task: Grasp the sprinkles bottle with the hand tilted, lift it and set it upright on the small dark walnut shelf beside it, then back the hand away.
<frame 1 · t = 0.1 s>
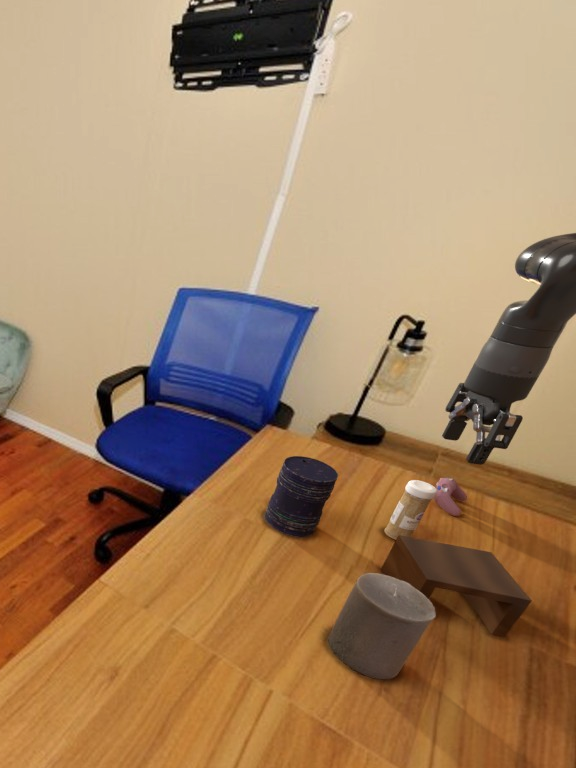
hand: (461, 450, 90), 28 cm above the table, tool pointing down, fingers open, 8 cm apart
navy ridged cylinder: (288, 523, 115), on the table
sprinkles bottle: (396, 536, 110), on the table
shelf: (437, 600, 95), on the table
pillar candle: (362, 654, 85), on the table
video game controller: (444, 504, 120), on the table
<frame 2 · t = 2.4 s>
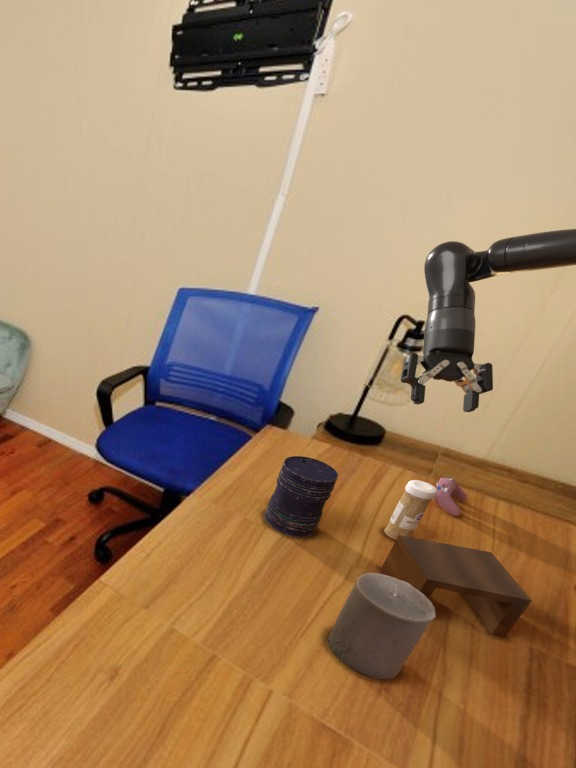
hand: (443, 407, 103), 28 cm above the table, tool tilted 40°, fingers open, 8 cm apart
nothing on the table moved.
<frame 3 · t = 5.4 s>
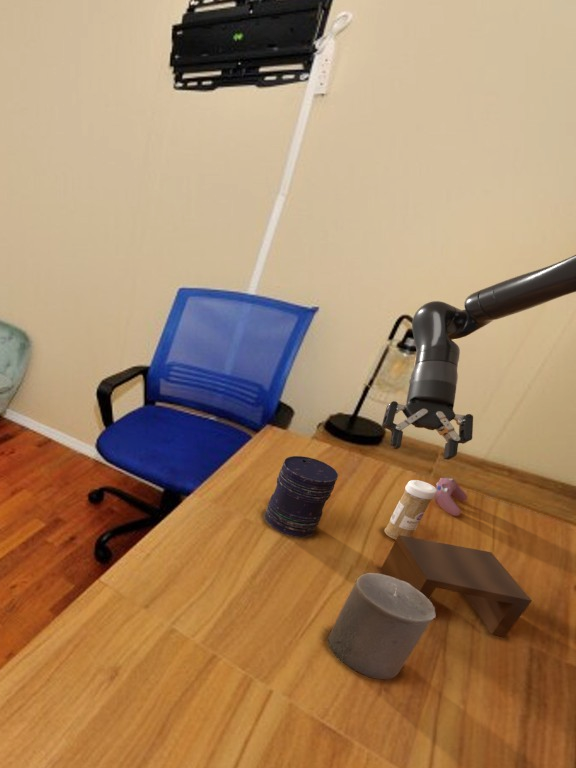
hand: (421, 453, 109), 17 cm above the table, tool tilted 45°, fingers open, 8 cm apart
nothing on the table moved.
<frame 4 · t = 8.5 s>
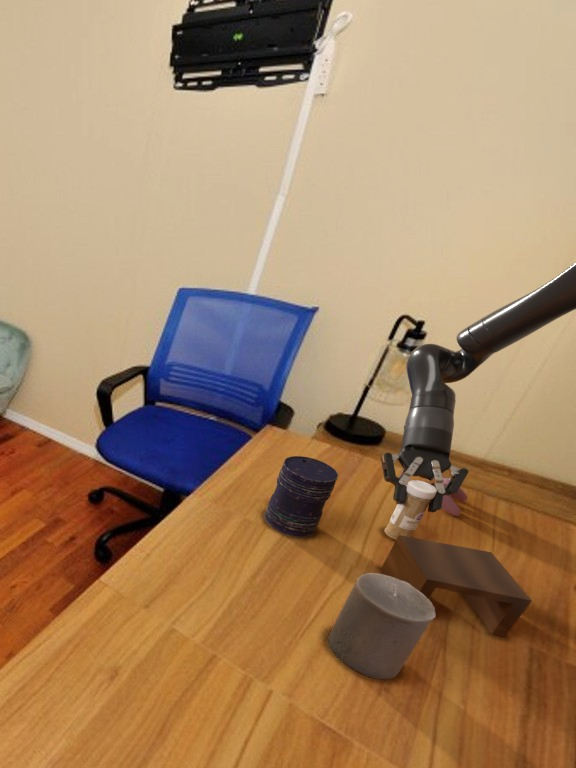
hand: (416, 507, 105), 9 cm above the table, tool tilted 45°, fingers closed on sprinkles bottle, 4 cm apart
sprinkles bottle: (396, 536, 110), on the table, touching gripper
everything else where it was.
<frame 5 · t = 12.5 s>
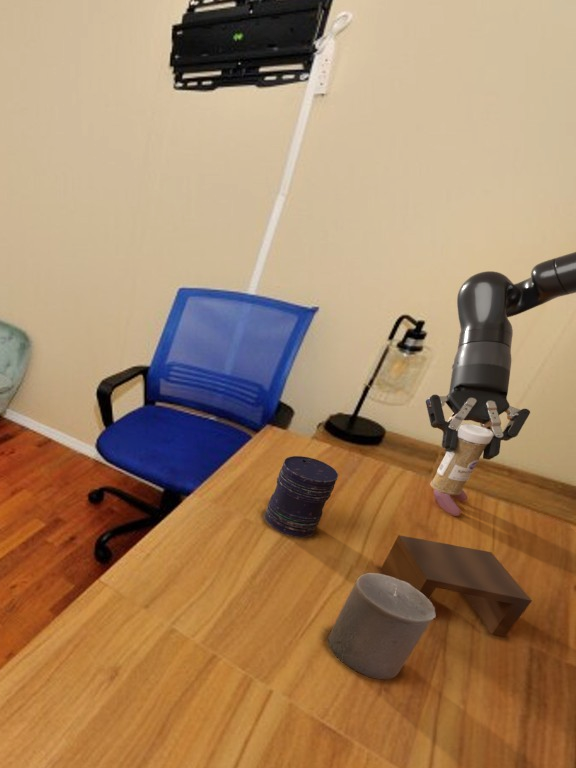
hand: (469, 454, 92), 26 cm above the table, tool tilted 45°, fingers closed on sprinkles bottle, 4 cm apart
sprinkles bottle: (444, 489, 98), point 16 cm above the table, touching gripper
everything else where it was.
when the fingers open (18 cm above the table, at t = 16.9 s): sprinkles bottle stays where it is, resting on shelf.
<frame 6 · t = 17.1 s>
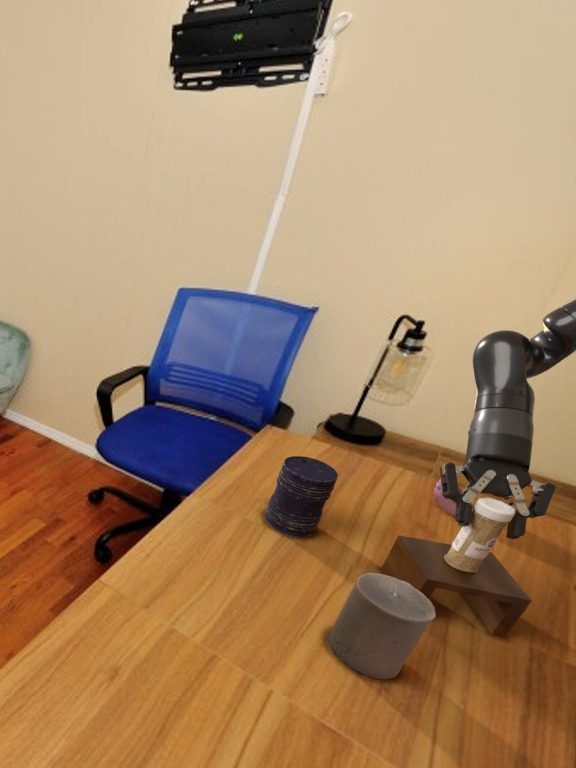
hand: (488, 531, 85), 18 cm above the table, tool tilted 45°, fingers open, 5 cm apart
sprinkles bottle: (459, 565, 91), point 9 cm above the table, touching shelf
everything else where it was.
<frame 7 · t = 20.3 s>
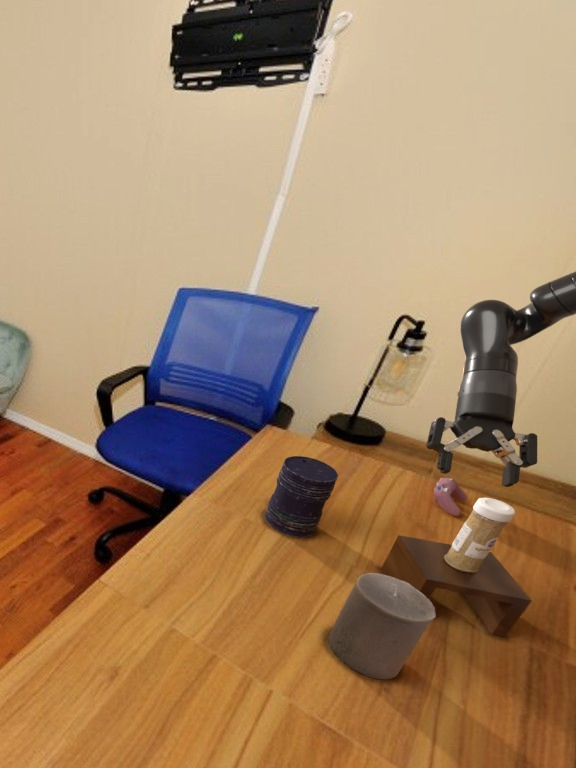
hand: (475, 479, 92), 21 cm above the table, tool tilted 45°, fingers open, 8 cm apart
nothing on the table moved.
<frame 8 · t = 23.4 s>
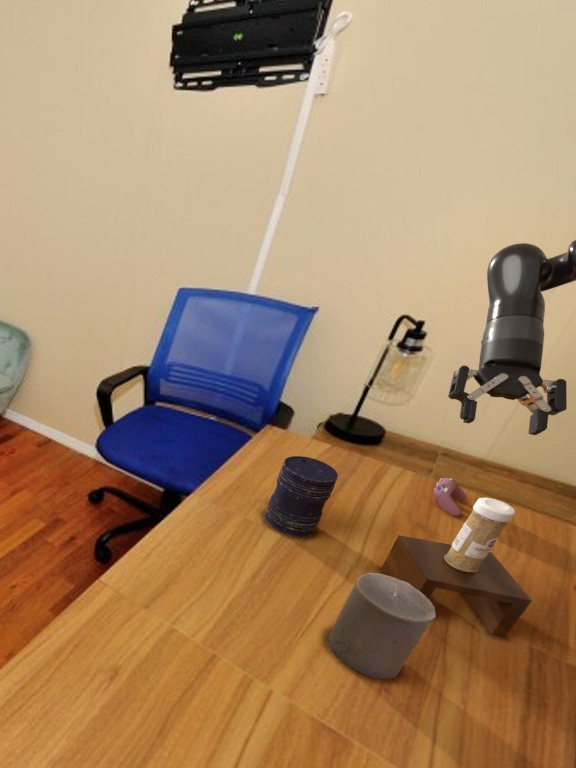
hand: (501, 427, 89), 32 cm above the table, tool tilted 45°, fingers open, 8 cm apart
nothing on the table moved.
at the end: sprinkles bottle inside the target area on the shelf (0.2 cm from its centre), point 8.8 cm above the shelf's base; sprinkles bottle tilted 0° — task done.
